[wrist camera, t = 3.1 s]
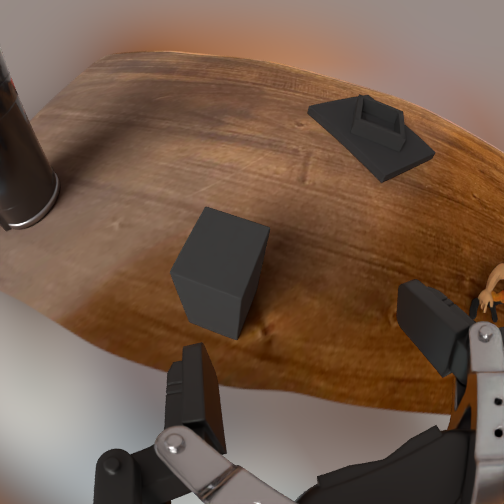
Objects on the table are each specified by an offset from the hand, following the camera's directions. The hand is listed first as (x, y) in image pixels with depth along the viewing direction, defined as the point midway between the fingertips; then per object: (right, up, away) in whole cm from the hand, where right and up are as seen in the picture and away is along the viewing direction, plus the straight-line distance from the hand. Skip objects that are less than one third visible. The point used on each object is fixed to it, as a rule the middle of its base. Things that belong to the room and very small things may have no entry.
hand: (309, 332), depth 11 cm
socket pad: (+16, +21, +30) cm, 40 cm away
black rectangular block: (-5, -2, +16) cm, 16 cm away
